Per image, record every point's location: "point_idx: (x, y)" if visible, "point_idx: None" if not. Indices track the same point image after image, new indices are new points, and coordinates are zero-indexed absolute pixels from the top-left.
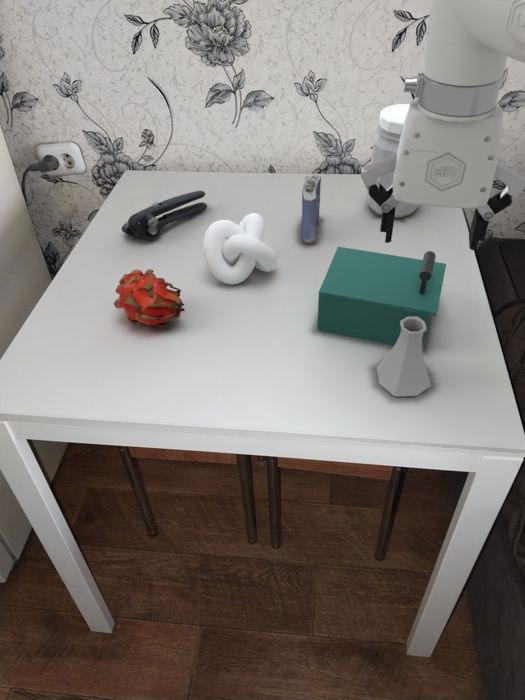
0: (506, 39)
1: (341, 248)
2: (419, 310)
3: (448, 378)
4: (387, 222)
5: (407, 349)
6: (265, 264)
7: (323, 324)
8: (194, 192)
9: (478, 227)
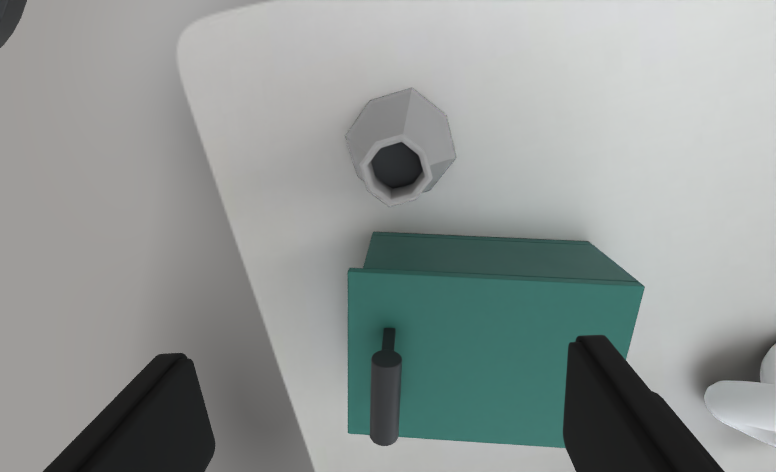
0: None
1: None
2: (388, 272)
3: (316, 169)
4: (678, 426)
5: (400, 131)
6: (754, 383)
7: (583, 247)
8: None
9: (78, 455)
